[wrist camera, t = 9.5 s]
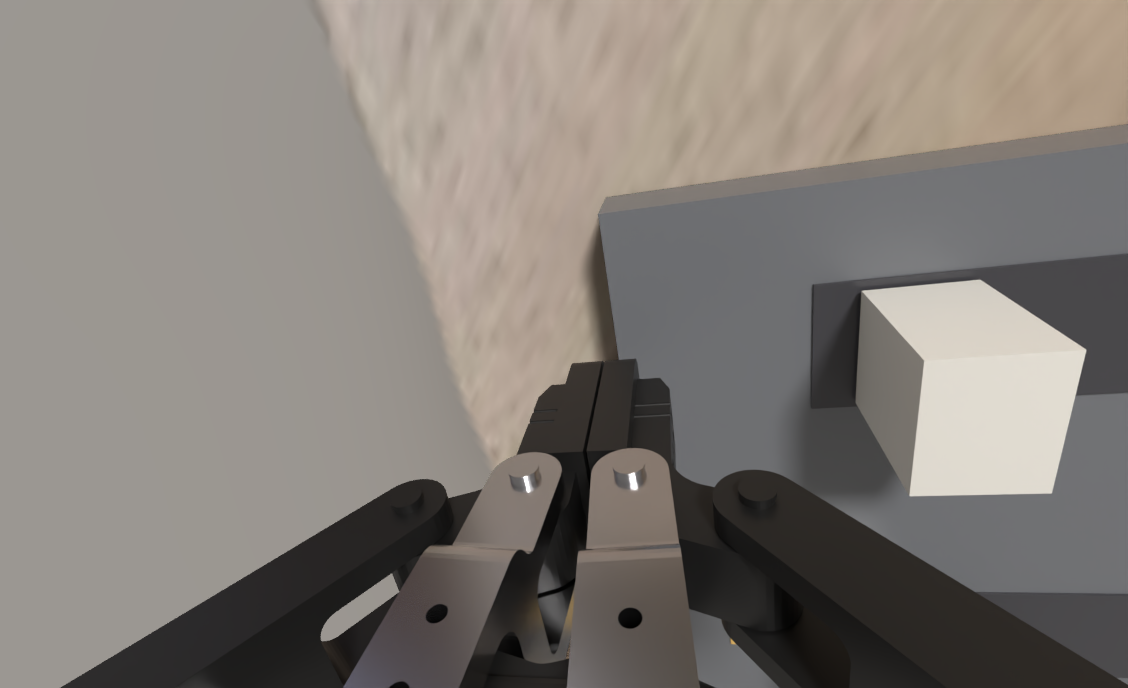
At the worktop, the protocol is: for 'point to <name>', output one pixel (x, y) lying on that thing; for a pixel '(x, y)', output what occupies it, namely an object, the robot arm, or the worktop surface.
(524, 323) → the worktop surface
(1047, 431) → the tab
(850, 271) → the switch bank
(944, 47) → the worktop surface
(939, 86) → the worktop surface
